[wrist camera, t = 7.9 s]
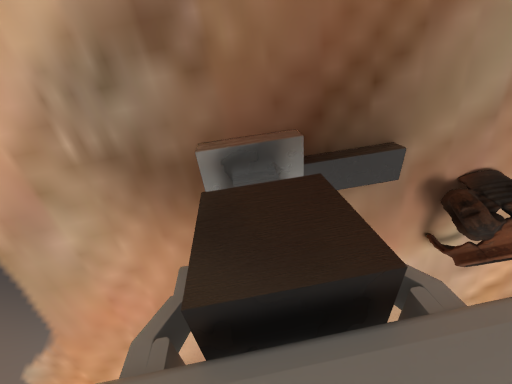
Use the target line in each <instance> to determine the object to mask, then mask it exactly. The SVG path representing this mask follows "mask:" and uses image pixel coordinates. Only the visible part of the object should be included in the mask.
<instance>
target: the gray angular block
mask: <svg viewBox="0 0 512 384" xmlns="http://www.w3.org/2000/svg"><path fill="white" fill-rule="evenodd" d="M405 152H406V148H405V147H403V146H401V145H398V144H396V143H394V142H393V143H386V144H380V145H374V146H367V147H361V148H355V149H348V150H342V151H336V152H329V153H323V154H317V155H310V156H304V136H303V135H302V134H301V133H300V132H299V131H297V130H296V129H293V130H287V131H280V132H273V133H267V134H260V135H253V136H247V137H240V138H234V139H227V140H220V141H214V142H207V143H200V144H198V145H197V148H196V151H195V154H196V158H197V161H198V165H199V169H200V172H201V176H202V180H203V184H204V187H205V191H206V192H208V191H215V190H221V189H227V188H233V187H239V186H245V185H251V184H258V183H264V182H270V181H276V180H282V179H288V178H295V177H301V176H307V175H313V174H319V173H321V174H322V175H323V176H324V177H325V178H326V179H327V181H328V182H329V183H330V184H331V185H332V186H333V187H334V188H335V189H336V190H340V189H346V188H352V187H358V186H364V185H370V184H376V183H382V182H388V181H393V180H398V179H399V175H400V172H401V168H402V164H403V160H404V156H405Z"/></svg>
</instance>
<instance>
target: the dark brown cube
mask: <svg viewBox="0 0 512 384" xmlns="http://www.w3.org/2000/svg"><path fill="white" fill-rule="evenodd" d="M407 268H408V267H407V265H406V264H405V263H404V262H403V261H402V260H401V259H400V258H399V257H398V256H397V255H396V254H395V253H394V251H393V250H392V249H391V248H390V247H389V246H388V245H387V244H386V243H385V242H384V241H383V240H382V239H381V238H380V236H379V235H378V234H377V233H376V232H375V231H374V230H373V229H372V228H371V227H370V226H369V225H368V224H367V222H366V221H365V220H364V219H363V218H362V217H361V216H360V215H359V214H358V213H357V212H356V211H355V210H354V209H353V207H352V206H351V205H350V204H349V203H348V202H347V201H346V200H345V199H344V198H343V197H342V196H341V195H340V193H339V192H338V191H337V190H336V189H335V188H334V187H333V186H332V185H331V184H330V183H329V182H328V181H327V179H326V178H325V177H324V176H323V175H322V174H321V173H319V174H313V175H307V176H301V177H295V178H288V179H282V180H276V181H270V182H264V183H258V184H251V185H245V186H239V187H233V188H227V189H221V190H215V191H208V192H202V193H201V198H200V204H199V209H198V215H197V221H196V226H195V232H194V238H193V243H192V249H191V255H190V261H189V266H188V272H187V278H186V283H185V289H184V295H183V301H182V306H181V312H182V314H183V316H184V318H185V320H186V322H187V324H188V326H189V328H190V330H191V332H192V334H193V336H194V338H195V340H196V342H197V344H198V346H199V348H200V350H201V351H202V353H203V355H204V357H205V359H206V361H208V360H212V359H217V358H222V357H227V356H231V355H236V354H241V353H246V352H251V351H255V350H260V349H265V348H270V347H274V346H279V345H284V344H289V343H294V342H298V341H303V340H308V339H313V338H317V337H322V336H327V335H332V334H337V333H341V332H346V331H351V330H356V329H361V328H365V327H370V326H375V325H380V324H385V323H387V321H388V319H389V316H390V313H391V311H392V308H393V305H394V303H395V300H396V297H397V294H398V292H399V289H400V286H401V284H402V281H403V278H404V276H405V273H406V270H407Z"/></svg>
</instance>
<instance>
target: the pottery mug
mask: <svg viewBox="0 0 512 384" xmlns="http://www.w3.org/2000/svg"><path fill="white" fill-rule="evenodd" d="M459 181H460V182H461V183H463V184H465V185H466V187H467V188H468V189H455V190H451V191H449V192H448V193H447V194H446V195H445V196H444V197H443V199H442V200H441V204H442V205H443V207H444V209H445V210H446V211H447V212H448V214H449V215H450V216H451V217H452V221H453V223H454V224H455V226H456V227H457V230H458V231H459V232H460V233H462V234H463V235H465V236H466V237H467V238H469V239H471V240H474V241H480V240H482V241H481V242H480V243H478V244H474V243H472V242H466V243H465V244H463V245H460V246H449V245H443V244H441V243H440V242H439V241H438V240H437V239H436V238H435V237H434V236H433V235H431V234H429V235H427V238H428V239H429V241H430V242H431V243H432V244H433V245H434V247H435V248H437V249H438V250H440V251H441V252H442V253H444V254H446V255H448V256H450V257H452V258H453V260H454V262H455V265H456V266H460V267H470V266H478V265H484V264H489V263H495V262H502V261H507V260H512V179H510V178H509V177H507V176H505V175H504V174H503V173H502V172H500V171H495V170H494V171H493V170H487V171H480V172H475V173H472V174H468V175H465V176H462V177H459ZM500 208H501V209H502V210H503V211H505V212H506V213H507V214H509V215H510V216H511V217H510V218H506V219H504V218H503V216H501V215H499V214H497V213H496V212H497V211H498V210H499V209H500Z"/></svg>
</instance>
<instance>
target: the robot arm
mask: <svg viewBox="0 0 512 384" xmlns="http://www.w3.org/2000/svg"><path fill="white" fill-rule="evenodd" d="M406 265H407V264H406ZM407 267H408V268H407V270H406V273H405V276H404V278H403V281H402V284H401V286H400V289H399V292H398V294H397V297H396V300H395V303H394V305H395V306H397V307H398V308H399V309H401V310H402V311H401V314H400V316H399V319H398V321H394V322H389V323H385V324H380V325H375V326H370V327H365V328H361V329H356V330H351V331H346V332H341V333H337V334H332V335H327V336H322V337H317V338H313V339H308V340H303V341H298V342H294V343H289V344H284V345H279V346H274V347H270V348H265V349H260V350H255V351H251V352H246V353H241V354H236V355H231V356H227V357H222V358H217V359H212V360H208V361H203V362H198V363H193V364H188V365H185V363H184V362H183V360H182V359H181V357H180V355H179V354H178V353H179V351H180V349H181V347H182V345H183V344H184V342H185V340H186V338H187V337H188V335H189V333H190V331H191V330H190V328H189V326H188V324H187V322H186V320H185V318H184V316H183V314H182V312H181V306H182V301H183V295H184V289H185V283H186V278H187V272H188V266H184V267H180V269H179V272H178V277H177V281H176V286H175V291H174V295H173V296H171V297H170V298H169V299H168V300H167V301H166V302H165V304H164V305H163V306H162V307H161V308H160V309H159V311H158V312H157V313H156V314H155V315H154V317H153V318H152V319H151V320H150V321H149V322H148V324H147V325H146V326H145V327H144V328H143V330H142V331H141V332H140V333H139V334H138V335H137V337H136V338H135V339H134V340H133V341H132V343H131V345H130V348H129V351H128V354H127V357H126V360H125V363H124V366H123V369H122V372H121V374H120V377H119V379H117V380H112V381H107V382H102V383H97V384H512V297H509V298H504V299H499V300H494V301H490V302H485V303H480V304H475V305H471V306H467V305H466V304H465V303H464V302H463V301H462V300H461V299H459V298H458V297H457V296H456V295H455V294H454V293H453V292H452V291H451V290H450V289H449V288H448V287H447V286H446V285H445V284H444V283H443V282H442V281H440V280H438V279H436V278H434V277H432V276H430V275H428V274H426V273H424V272H421V271H419V270H417V269H415V268H413V267H411V266H409V265H407Z"/></svg>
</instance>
